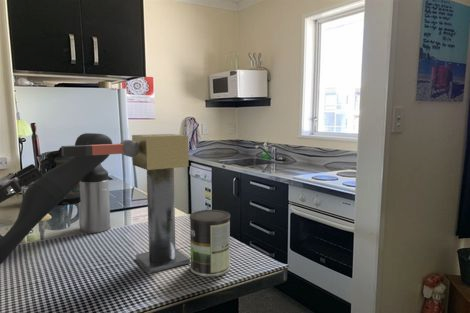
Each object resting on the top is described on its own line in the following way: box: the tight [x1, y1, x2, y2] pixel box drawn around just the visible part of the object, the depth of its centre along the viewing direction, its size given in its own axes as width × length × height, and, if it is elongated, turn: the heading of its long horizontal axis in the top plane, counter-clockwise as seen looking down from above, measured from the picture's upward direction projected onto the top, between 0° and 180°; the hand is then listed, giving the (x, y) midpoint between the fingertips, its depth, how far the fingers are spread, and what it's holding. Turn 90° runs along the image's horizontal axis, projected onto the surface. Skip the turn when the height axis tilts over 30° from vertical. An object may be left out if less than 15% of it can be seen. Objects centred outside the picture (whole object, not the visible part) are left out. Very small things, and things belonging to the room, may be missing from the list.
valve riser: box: [131, 133, 191, 274], centre depth 93 cm, size 11×11×34 cm
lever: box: [60, 139, 140, 158], centre depth 84 cm, size 17×4×4 cm, turn 123°
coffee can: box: [189, 209, 231, 278], centre depth 90 cm, size 10×10×14 cm
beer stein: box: [39, 147, 81, 205], centre depth 162 cm, size 16×19×25 cm
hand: (37, 169), depth 76 cm, fingers open, 8 cm apart
